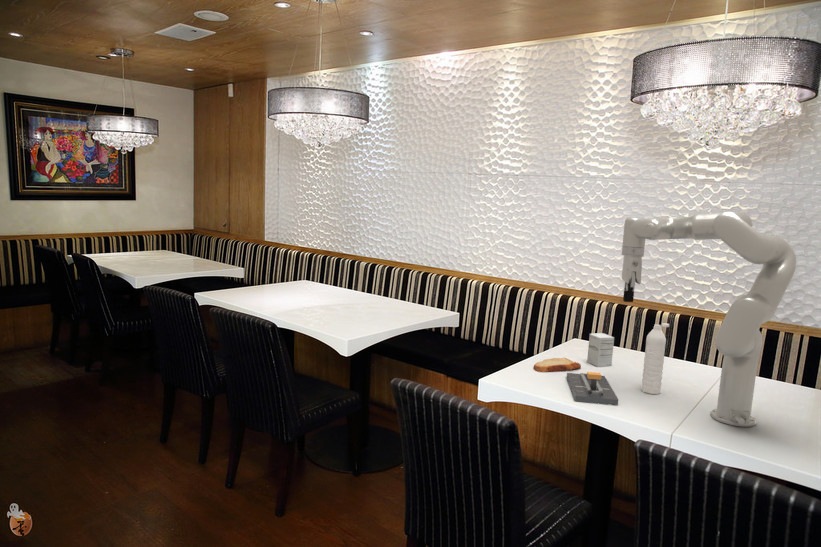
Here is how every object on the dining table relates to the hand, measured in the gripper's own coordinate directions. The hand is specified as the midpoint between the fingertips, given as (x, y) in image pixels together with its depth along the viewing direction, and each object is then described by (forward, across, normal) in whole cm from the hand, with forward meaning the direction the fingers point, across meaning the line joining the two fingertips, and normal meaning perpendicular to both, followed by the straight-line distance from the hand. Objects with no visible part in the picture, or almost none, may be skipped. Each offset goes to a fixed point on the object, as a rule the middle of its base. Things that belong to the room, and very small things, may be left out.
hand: (628, 301), depth 207 cm
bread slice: (+33, +16, +21) cm, 42 cm away
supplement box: (+32, +27, +3) cm, 42 cm away
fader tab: (+30, -13, +12) cm, 35 cm away
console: (+32, -9, +12) cm, 35 cm away
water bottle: (+32, -3, -11) cm, 34 cm away
